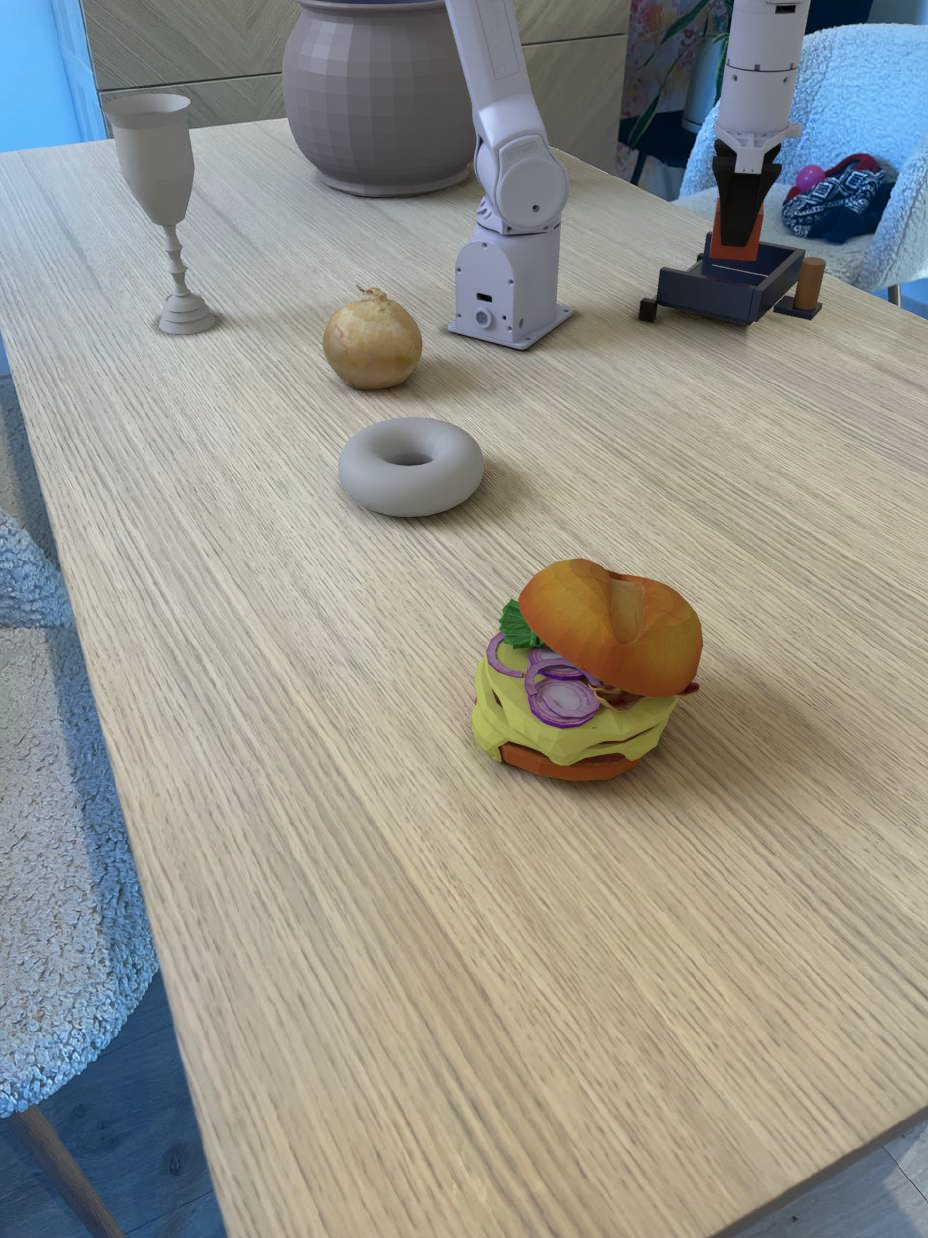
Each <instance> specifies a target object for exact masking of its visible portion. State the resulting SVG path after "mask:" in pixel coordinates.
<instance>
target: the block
mask: <svg viewBox="0 0 928 1238" xmlns="http://www.w3.org/2000/svg"><path fill="white" fill-rule="evenodd" d="M764 202H765V200H764V201H763V203H762V206H761V208H760V211H759V213H758V216H757V219H756V222H755V225H754V228H753V230H752V233H751V236H750V238H749V240H748V243H747V244H746V246H745V247H736V246H723V245H722V243H721V235H720V198H719V197H717V198H716V205H715V210H714V211H715V212H714V218H713V224H712V231H711V232H712V238H711V246H710V256H709V258H715V259H730V260H744V261H756V257H757V251H758V245H759V241H761V240H760V239H761V234H762V227H763V222H764V216H765V206H764Z"/></svg>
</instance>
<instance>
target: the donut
mask: <svg viewBox="0 0 928 1238" xmlns="http://www.w3.org/2000/svg"><path fill="white" fill-rule="evenodd" d="M485 466H486V465H485V460H484V456H483V452H482V449H481V447H480V445H479V443H478V442H477V441H476V439H474V438H473V436H471V435H470V434H469V432H468V431H466V430H465V429H463V428H462V427H459V426H458V425H455V424H453V423H451V422H449V421H444V420H441V419H437V418H431V417H430V418H429V417H421V416H420V417H419V416H407V417H396V418H391V419H386V420H382V421H377V422H375V423H373V424H371V425H368V426H366V427H364V428H362V429H360V430H359V431H358V432H357V433H356V434H355V435H353V436H352V437H351V438H350V439H348V440H347V441H346V443H345V445H344V447H343V448H342V451H341V452H340V454H339V457H338V459H337V470H338V478H339V482H340V484H341V486H342V487H343V488H344V490H345V491H346V492H347V494H348V496H349V497H350V498H351V499H352V500H353V501H354V502H356V503H358V504H360V505H361V506H362V507H364V508H366V509H367V510H369V511H372V512H376V513H379V514H382V515H385V516H390V517H391V516H393V517H401V518H415V517H429V516H433V515H436V514H439V513H443V512H446V511H449V510H451V509H453V508H455V507H456V506H458V505H461V504H462V503H464V502H465V501H466V500H468V499H469V497H471V496H472V495H473V494H474V493H475V492H476V491H477V490H478V488H479V487H480V484H481V481H482V479H483V475H484V471H485Z"/></svg>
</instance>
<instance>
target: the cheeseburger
mask: <svg viewBox="0 0 928 1238" xmlns="http://www.w3.org/2000/svg"><path fill="white" fill-rule="evenodd" d="M501 611H502V614H503V615H502V616H501V617H500V618H499V619H498V622H499V624H500V626H499V628H498V631H497V632H495V634H494V635H493V636H492V638H491V639H490V640H489V643H488V645H487V648H486V650H485V655H484V656H483V657H482V659H481V660H480V661H479V662H478V665H477V667H476V671H475V674H474V692H475V699H474V707H473V708H472V712H471V713H472V714H471V720H470V721H471V724H470V727H471V731H472V734H473V737H474V741H475V743H477V744H478V745H479V746H480V747H481V748H482V750H483V751H484V752H485V753H486V754H487V755H488V756H489V757H490V759H491V760H493V761H495V762H497V763H501V762H502V759H503V761H505V762H506V763H507V764H510V765H513V766H515V767H517V768H520V769H523V770H524V771H527V772H530V773H531V774H535V775H537V776H540V777H541V776H542V777H547V778H553V779H561V780H566V781H573V782H580V781H598V780H599V781H601V780H602V781H603V780H605V781H606V780H611V779H612V778H615V777H617V776H619V775H621V774H623V773H625V772H626V771H629V770H631V769H632V768H635V767H637V766H638V765H639V763H640V761H641V760H642V759H643V757H644V755H646V754H647V753H648V752H649V751H651V750H652V749H655V748H656V747H657V746H658V744H659V740H660V737H661V734H662V733H663V731H664V730H665V728H666V726H667V724H668V722H669V721H668V720H669V718H670V716H671V713H672V712H673V711H674V709H675V708H676V705H677V703H678V700H679V698H689V697H691V696H694V695H696V694H698V693H699V691H700V688H701V684H699V683H698V682H697V681H696V682H695V681H694V679H695V678H696V676H697V673H698V669H699V665H700V661H701V657H702V654H703V653H702V652H703V649H704V640H703V639H704V638H703V637H704V636H703V627H702V622H701V620H700V618H699V615H698V613H697V611H696V610H695V609H694V607H692V605H691V604H690V603H689V602H688V600H686V599H685V598H684V596H682V594H681V593H680V592H679V591H677V590H676V589H674V588H673V587H671V586H669V585H668V584H665V583H664V582H661V581H658V580H655V579H652V578H648V577H646V576H645V577H644V576H639V575H633V574H626V573H618V572H615V571H613V570H610V569H606V568H605V567H604V566H602V565H601V564H600V563H597V562H595V561H593V560H590V559H586V558H582V557H580V558H570V559H564V560H557V561H554V562H553V563H551V564H549V565H548V566H546V567H545V568H542V569H541V570H540V571H538V572H536V573H535V574H534V576H533V577H531V579H530V580H529V581H528V582H527V583H526V585H525V586H524V587H523V589H522V591H521V592H520V594H519V596H518V598H517V600H514V599H512V598H510V599H509V601H508V602H507V603H506V604H505V606H503V608H501Z"/></svg>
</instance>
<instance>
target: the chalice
mask: <svg viewBox="0 0 928 1238" xmlns="http://www.w3.org/2000/svg"><path fill="white" fill-rule="evenodd" d="M190 107H191V98H188V97H187V96H184V95H180V94H172V93H144V94H135V95H129V96H124V97H119V98H116V99H113V100H110V101H108V102H105V103H104V104H103V105H102V106H101V109H100V110H101V111H102V113H103V114H104V116H105V117H106V118H107V120H108V121H109V123H110V125H111V130H112V134H113V139H114V144H115V149H116V153H117V158H118V163H119V167H120V172H121V176H122V177H123V179H124V181H125V183H126V185H127V186H128V188H129V190H130V192H131V194H132V196H133V198H134V199H135V200H136V201H137V204H138V205H139V206H140V208H141V209H142V211H143V212H144V213H145V214H146V216H147V217H148V219H149V221H150V222H151V223H152V224H154V225H157V226H159V227H160V226H161V227H162V228H163V231H164V234H165V245H164V247H163V250H164V251H165V252H166V253H167V255H168V258H169V259H170V261H169V266H168V268H167V269H166V270H167V271H166V272H168V273H169V274H170V275H171V277H172V279H173V281H174V290H173V292H172V293H171V294H169V295H167V297H166V298H165V300H164V302H163V303H162V310H161V312H160V316H161V318H160V321H159V322H158V328H159V329H160V330H161V331H162V332H165V333H167V334H172V335H191V334H197V333H200V332H203V331H206V330H208V329H210V328H211V327H213V326H214V325H215V324H216V323H217V319H216V317H215V316H214V315H213V314H212V312H211V309H210V307H209V306H208V305H207V303H206V301H205V299H204V298H203V297H202V296H201V295H200V294H198V293H196V292H194V291H193V292H192V290H191V289H189V288H188V286H187V283H186V272H187V270H188V267H187V266H186V265H185V264H184V263H183V261H182V258H181V253H182V250H183V248H184V247H183V245H182V243H180V240H179V238H178V236H177V224H179V223H181V222H182V221H184V220H185V218H186V215H187V211H188V206H189V202H190V199H191V195H192V192H193V184H194V179H195V178H194V177H195V169H196V165H195V160H194V153H193V147H192V140H191V136H190V129H189V124H188V114H189V111H190Z"/></svg>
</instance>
